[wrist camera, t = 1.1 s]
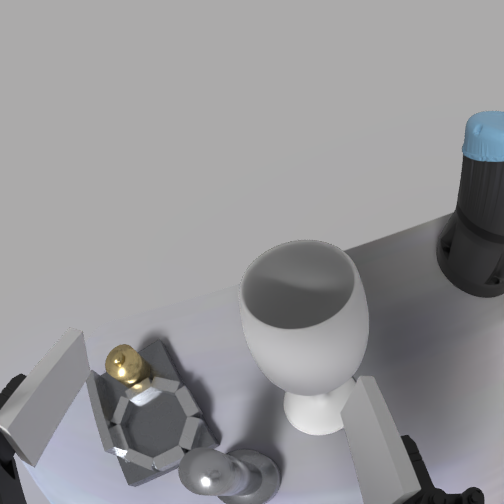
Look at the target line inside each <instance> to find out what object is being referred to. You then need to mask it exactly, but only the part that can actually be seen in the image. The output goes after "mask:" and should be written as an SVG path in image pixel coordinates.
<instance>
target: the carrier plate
mask: <svg viewBox="0 0 504 504" xmlns="http://www.w3.org/2000/svg"><path fill="white" fill-rule="evenodd" d="M105 367H106V371H107V372H106V373H104V374H103V375H101V376H100V375H98V374H97V373H96V372H94V371H93V370H91V374H90V375H89V377H88V378H87V380H86V383H87V388H88V392H89V397H90V401H91V405H92V409H93V413H94V417H95V420H96V424H97V427H98V431H99V434H100V437H101V441H102V444H103V447H104V450H105V451H106V452H108V453H111V454H114V455H117V458H118V460H119V463H120V466H121V468H122V471H123V473H124V476H125V478H126V480H127V483H128V485H130V486H135V487H136V486H139V485H141V484H143V483H146V482H148V481H150V480H153V479H155V478H157V477H159V476H161V475H164V474H166V473H168V472H170V471H172V470H174V469H176V468H178V467H179V464H180V461H181V459H182V458H183V456H184V455H185V454H186V453H188V452H189V451H191V450H193V449H195V448H199V447H207V448H212V449H214V448H216V447H218V446H219V443H218V442H217V440H216V438H215V437H214V435H213V434H212V432H211V430H210V429H209V427H208V425H207V424H206V422H205V420H204V419H203V417H202V414H203V413H202V411H201V409H200V408H199V406H198V404H197V402H196V401H195V399H194V397H193V395H192V393H191V392H190V390H189V389H188V388H187V387H186V386H185V385H184V383H183V381H182V379H181V377H180V375H179V373H178V371H177V369H176V367H175V365H174V363H173V361H172V359H171V357H170V355H169V353H168V351H167V349H166V347H165V345H164V344H163V343H162V342H161V340H160V339H159V340H157V341H156V342H154V343H153V344H151V345H149V346H148V347H146V348H145V349H143V350H142V351H140V352H138V353H137V352H136V351H135V350H134V349H133V348H132V347H131V346H129V345H126V344H123V345H119V346H117V347H115V348H114V349H113V350H112V351H111V352H110V353H109V355H108V356H107V359H106V363H105Z"/></svg>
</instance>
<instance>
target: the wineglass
mask: <svg viewBox="0 0 504 504" xmlns="http://www.w3.org/2000/svg"><path fill="white" fill-rule="evenodd" d="M239 306H240V314H241V321H242V326H243V331H244V335H245V338H246V342H247V345H248V347H249V350H250V352H251V354H252V356H253V358H254V360H255V362H256V363H257V365H258V366H259V368H260V369H261V371H262V372H263V373H264V375H265V376H266V377H267V378H268V379H269V380H270V381H271V382H272V383H274V384H275V385H276V386H278V387H279V388H281V389H283V390H285V391H286V392H285V395H284V402H283V404H284V411H285V414H286V417H287V418H288V420H289V422H290V423H291V424H292V425H293V426H294V427H295V428H297V429H298V430H300V431H302V432H304V433H307V434H311V435H327V434H331V433H334V432H336V431H338V430H340V429H342V428H343V427H344V425H343V421H342V418H341V414H340V412H341V411H342V409H343V407H344V405H345V403H346V402H347V400H348V398H349V396H350V394H351V392H352V390H353V388H354V386H355V384H356V382H355V381H354V379H353V378H352V376H353V374H354V373H355V372H356V370H357V369H358V367H359V365H360V364H361V362H362V359H363V357H364V354H365V350H366V347H367V342H368V335H369V312H368V305H367V300H366V295H365V291H364V288H363V284H362V281H361V278H360V275H359V272H358V270H357V267H356V266H355V264H354V262H353V261H352V259H351V258H350V257H349V256H348V255H347V254H346V253H345V252H344V251H342V250H341V249H340V248H338V247H336V246H334V245H332V244H329V243H326V242H322V241H315V240H298V241H292V242H288V243H284V244H281V245H278V246H276V247H273V248H271V249H269V250H268V251H266V252H264V253H263V254H261V255H260V256H259V257H258V258H256V259H255V260H254V261H253V262H252V263H251V264H250V266H249V267H248V268H247V270H246V271H245V273H244V275H243V277H242V280H241V283H240V287H239Z"/></svg>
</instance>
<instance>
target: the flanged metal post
mask: <svg viewBox="0 0 504 504" xmlns="http://www.w3.org/2000/svg"><path fill="white" fill-rule="evenodd" d="M178 471H179V477H180V480H181V482H182V484H183V485H184V486H185V487H186V488H187V489H188V490H189V491H191V492H193V493H195V494H199V495H211V496H218V498H219V499H220V500H222V501H223V502H224V503H226V504H265V503H267V502H268V501H270V500H271V499H272V498H273V497H274V496H275V495H276V493H277V492H278V490H279V487H280V483H281V475H280V471H279V469H278V467H277V465H276V464H275V463H274V462H273V461H272V460H271V459H270V458H269V457H267V456H265V455H263V454H261V453H259V452H257V451H254V450H248V449H241V450H235V451H232V452H229V453H227V454H224V453H222V452H219V451H217V450H214V449H212V448H207V447H199V448H195V449H193V450H191V451H189V452H188V453H186V454H185V455H184V456H183V458H182V459H181V461H180V464H179V469H178Z"/></svg>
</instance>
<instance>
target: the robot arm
mask: <svg viewBox="0 0 504 504" xmlns="http://www.w3.org/2000/svg"><path fill="white" fill-rule="evenodd" d="M462 152H463V164H462V172H461V180H460V187H459V193H458V201H457V206H456V210H455V211H454V213H453V215H452V216H451V218H450V220H449V221H448V223H447V225H446V226H445V228H444V229H443V231H442V233H441V235H440V238H439V243H438V248H437V259H438V263H439V265H440V268H441V269H442V271H443V273H444V274H445V276H446V277H447V278H448V279H449V280H450V281H451V282H452V283H453V284H454V285H455V286H457V287H458V288H460V289H461V290H463V291H465V292H467V293H469V294H471V295H474V296H478V297H487V298H488V297H496V296H499V295H502V294H503V293H504V112H501V111H486V112H480V113H477V114H474V115H473V116H471V117H470V118H469V120H468V121H467V124H466V130H465V139H464V144H463V146H462ZM90 374H91V371H90V367H89V362H88V357H87V352H86V347H85V341H84V335H83V331H81V330H77V329H74V328H71V327H70V328H69V329H68V330H67V331H66V332H65V333H64V335H62V337H61V338H60V339H59V340H58V341H57V342H56V343H55V344H54V345H53V347H52V348H51V349H50V350H49V351H48V352H47V353H46V354H45V356H44V357H43V358H42V359H41V360H40V361H39V363H38V364H37V365H36V366H35V367H34V369H33V370H32V371H31V372H30V373H29V374H28V376H25V375H23V374H19V375H18V376H16V377H14V378H12V380H11V381H10V382H9V383H8V384H7V386H6V388H4V389H3V390H2V392H1V393H0V504H27V503H26V500H25V497H24V493H23V490H22V487H21V483H20V479H19V475H18V471H17V467H16V463H15V459H14V457H13V456H14V454H15V452H16V453H17V455H18V456H19V457H20V459H21V460H23V461H25V462H26V463H28V464H30V465H31V466H33V467H35V466H36V464H37V462H38V460H39V459H40V457H41V455H42V453H43V451H44V449H45V448H46V446H47V444H48V442H49V441H50V439H51V437H52V435H53V434H54V432H55V430H56V429H57V427H58V425H59V423H60V422H61V420H62V418H63V417H64V415H65V413H66V412H67V410H68V408H69V407H70V405H71V404H72V402H73V400H74V399H75V397H76V396H77V394H78V392H79V391H80V389H81V388H82V386H83V385H84V383H85V381H86V380H87V378H88V377H89V375H90ZM340 414H341V418H342V421H343V425H344V429H345V432H346V436H347V440H348V443H349V447H350V451H351V454H352V458H353V462H354V466H355V470H356V474H357V478H358V482H359V486H360V490H361V494H362V498H363V502H364V504H484V494H483V493H482V491H481V490H480V489H479V488H476V487H470V488H468V489H467V490H466V491H464V492H463V493H462V494H446V493H445V492H444V491H443V490H441V489H438V488H435V487H434V485H433V483H432V481H431V478H430V476H429V474H428V471H427V469H426V466H425V464H424V462H423V461H422V457H421V455H420V454H419V450H418V448H417V446H416V443H415V442H414V441H413V440H412V439H411V438H410V437H409V436H408V435H405V436H400V434H399V432H398V430H397V427H396V425H395V423H394V420H393V418H392V416H391V414H390V411H389V409H388V407H387V405H386V402H385V400H384V398H383V396H382V394H381V391H380V389H379V387H378V385H377V383H376V381H375V378H374V376H359V378H358V380H357V382H356V384H355V386H354V388H353V390H352V392H351V394H350V396H349V398H348V400H347V402H346V403H345V405H344V407H343V409H342V411H341V412H340Z"/></svg>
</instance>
